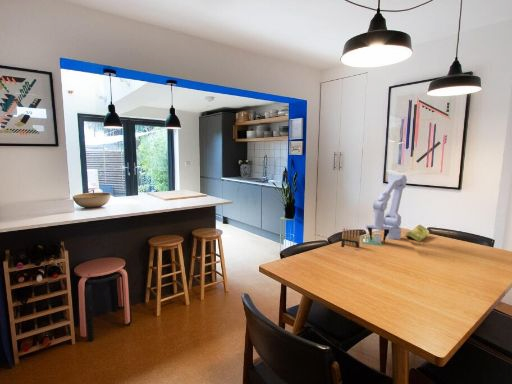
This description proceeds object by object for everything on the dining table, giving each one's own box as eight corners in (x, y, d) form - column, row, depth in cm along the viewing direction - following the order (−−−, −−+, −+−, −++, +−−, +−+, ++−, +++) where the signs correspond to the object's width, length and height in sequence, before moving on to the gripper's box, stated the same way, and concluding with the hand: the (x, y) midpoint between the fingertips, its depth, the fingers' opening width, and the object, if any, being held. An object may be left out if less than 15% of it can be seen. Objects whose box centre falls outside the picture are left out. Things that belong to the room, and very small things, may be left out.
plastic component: (421, 239, 191) (407, 229, 196) (415, 247, 194) (402, 238, 200) (431, 231, 204) (417, 223, 210) (425, 239, 207) (412, 231, 213)
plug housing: (379, 240, 188) (380, 233, 187) (380, 243, 181) (381, 236, 181) (373, 240, 189) (374, 232, 188) (374, 243, 183) (375, 235, 182)
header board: (379, 240, 194) (380, 234, 194) (382, 248, 177) (383, 242, 177) (360, 238, 198) (361, 232, 197) (361, 246, 181) (362, 239, 180)
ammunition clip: (341, 246, 180) (342, 227, 178) (342, 245, 181) (343, 227, 180) (358, 250, 174) (359, 230, 172) (359, 249, 175) (360, 229, 173)
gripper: (367, 220, 182) (365, 241, 184) (392, 222, 177) (390, 243, 179) (366, 217, 188) (365, 238, 190) (390, 219, 184) (389, 240, 186)
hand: (377, 240), depth 185 cm, fingers open, 7 cm apart
